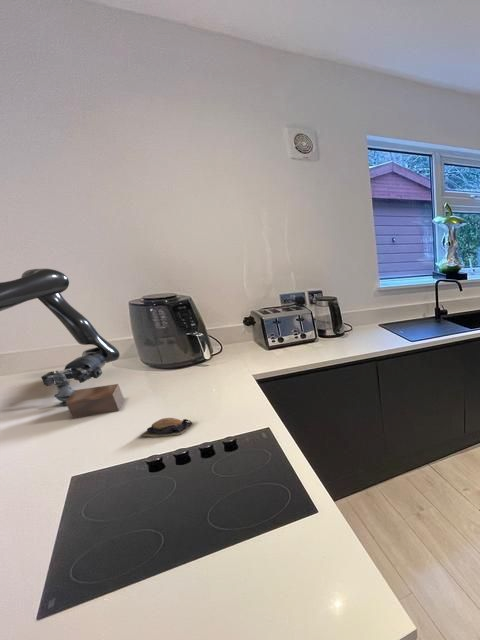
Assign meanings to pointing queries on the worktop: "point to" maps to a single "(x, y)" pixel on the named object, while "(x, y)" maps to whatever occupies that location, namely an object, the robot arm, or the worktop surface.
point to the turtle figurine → (168, 427)
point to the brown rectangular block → (95, 401)
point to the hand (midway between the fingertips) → (63, 381)
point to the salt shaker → (62, 388)
